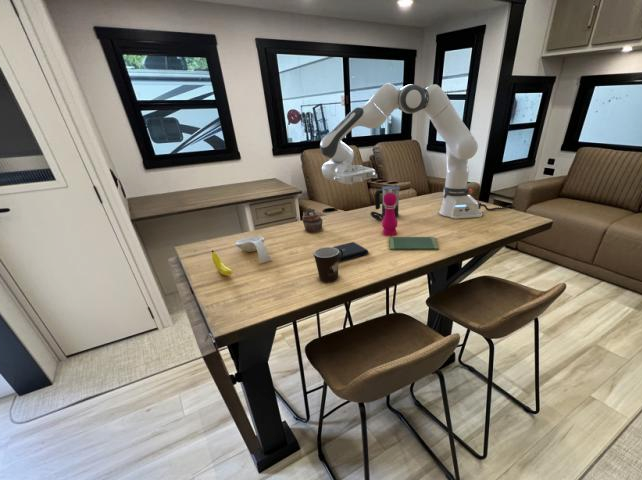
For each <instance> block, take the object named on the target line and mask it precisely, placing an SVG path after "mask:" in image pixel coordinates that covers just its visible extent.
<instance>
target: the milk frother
mask: <svg viewBox="0 0 642 480" xmlns="http://www.w3.org/2000/svg"><path fill="white" fill-rule="evenodd" d="M400 189H401V187H400V186H397V185H385V186H382V187H381V188H379V189H377V190H375V193H374V207H375V210H380V209H381V213H380V212H377V211H370V216H371V218H372V219H374V220H376V221H383V218H384V216H385V203H384V201H383V198H384V196H385V194H387V193H388V191H389V190H392V193H393V194H395V195H396V197H397V201H396V203H395V209H394V213H395V217H396V218H398V217H399V215H400V214H399V203H400ZM381 194H382V195H381Z"/></svg>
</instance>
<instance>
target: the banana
mask: <svg viewBox="0 0 642 480" xmlns="http://www.w3.org/2000/svg"><path fill="white" fill-rule="evenodd" d="M211 258H212V262H213V264H214V266H215V268H216V269H217V270H218V272H219V273H220V274H221V275H222V276H227V277H228V276H231V275H232V274H233V271H232V269H231V268H229V267H228V266H226V265H225V264H224V262H223V261H222V259H221V257H220V256H219V255H218V254H217V253H216V252H215V251H214V250H211Z"/></svg>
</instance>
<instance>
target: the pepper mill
mask: <svg viewBox="0 0 642 480" xmlns="http://www.w3.org/2000/svg"><path fill="white" fill-rule="evenodd" d="M383 201H384V203H385V216H384V218H383V220H381V227H382V235H384V236H390V237H391V236H395V235H396V234H397V229H396V228H397V227H398V219H397V217H395V213H394V209H395V203H396V201H397V197H396V195H395V194H393V193H392V190H389V191H388V193H387V194H385V196H384V198H383Z"/></svg>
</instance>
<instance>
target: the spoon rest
mask: <svg viewBox="0 0 642 480" xmlns="http://www.w3.org/2000/svg"><path fill="white" fill-rule="evenodd" d="M264 242H265V237H263V236H248V237H245V238H241V239H238V240H237V241H235V246H236V247H237V248H239V249H241V250H242V251H244V252H247V253H252V252H253V253H254V252H256V251H257V257H258V263H259V264H260V265H261V264H264V263H269V262H271V261H272V257H271V255H270V253H269V251H268V250H267V248H266V246H265V244H264Z"/></svg>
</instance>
